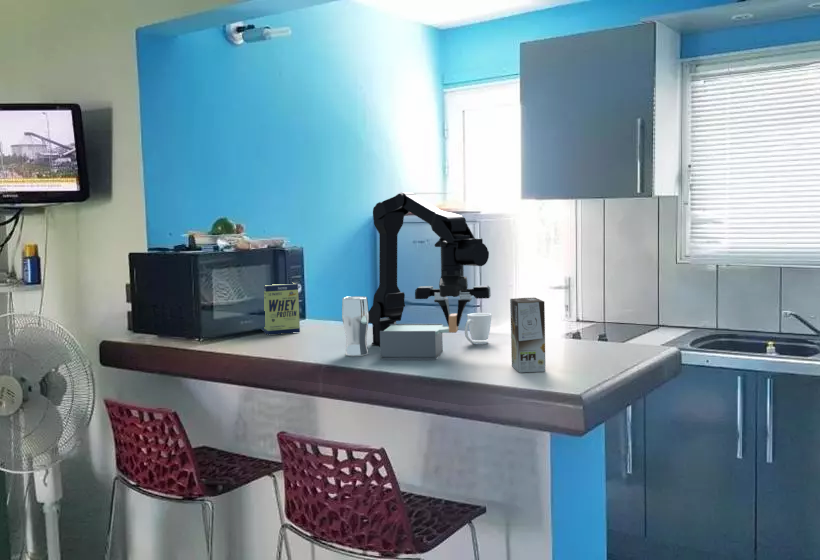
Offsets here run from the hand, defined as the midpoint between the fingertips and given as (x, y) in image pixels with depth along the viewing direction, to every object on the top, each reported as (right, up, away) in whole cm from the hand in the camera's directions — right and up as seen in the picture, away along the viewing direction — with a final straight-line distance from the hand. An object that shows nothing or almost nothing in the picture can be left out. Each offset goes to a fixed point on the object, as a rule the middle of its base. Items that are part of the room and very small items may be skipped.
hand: (453, 326), depth 204 cm
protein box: (-53, -5, +54) cm, 76 cm away
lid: (-8, -1, +2) cm, 8 cm away
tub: (-10, -8, +3) cm, 13 cm away
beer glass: (-25, -8, +6) cm, 27 cm away
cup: (+7, -6, +18) cm, 20 cm away
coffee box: (+16, -9, -19) cm, 27 cm away
